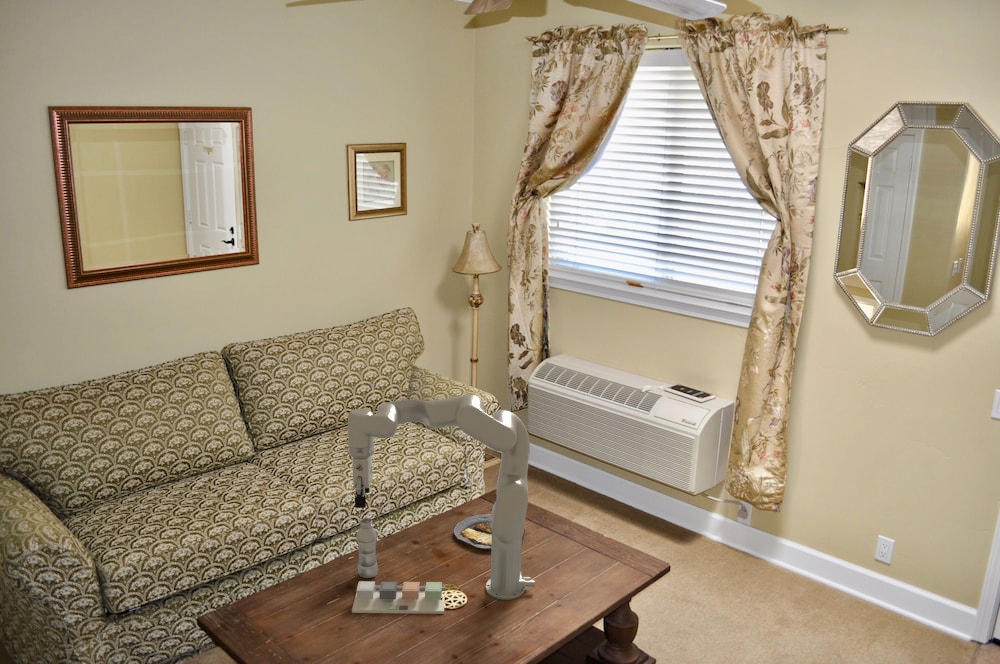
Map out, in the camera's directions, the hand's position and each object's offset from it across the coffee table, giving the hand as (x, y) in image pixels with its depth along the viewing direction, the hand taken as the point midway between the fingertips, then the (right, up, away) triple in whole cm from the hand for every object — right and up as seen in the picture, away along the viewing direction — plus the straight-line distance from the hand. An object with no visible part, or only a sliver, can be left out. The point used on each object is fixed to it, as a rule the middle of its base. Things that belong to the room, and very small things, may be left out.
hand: (362, 499), depth 259 cm
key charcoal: (+8, -30, +1) cm, 31 cm away
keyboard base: (+11, -32, +2) cm, 34 cm away
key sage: (+22, -30, +1) cm, 37 cm away
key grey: (+1, -30, +1) cm, 30 cm away
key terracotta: (+15, -30, +1) cm, 33 cm away
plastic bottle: (-1, -28, +15) cm, 32 cm away
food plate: (+39, -22, +42) cm, 61 cm away
